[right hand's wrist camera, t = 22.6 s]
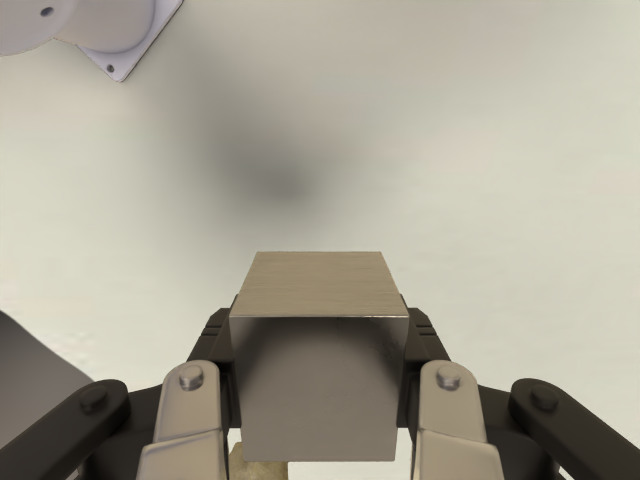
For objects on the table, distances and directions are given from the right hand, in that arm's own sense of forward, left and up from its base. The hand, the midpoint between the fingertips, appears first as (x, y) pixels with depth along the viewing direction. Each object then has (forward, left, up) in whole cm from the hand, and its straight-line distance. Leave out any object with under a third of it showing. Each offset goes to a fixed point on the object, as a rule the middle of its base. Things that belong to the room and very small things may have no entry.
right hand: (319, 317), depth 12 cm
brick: (0, 0, 0) cm, 0 cm away
